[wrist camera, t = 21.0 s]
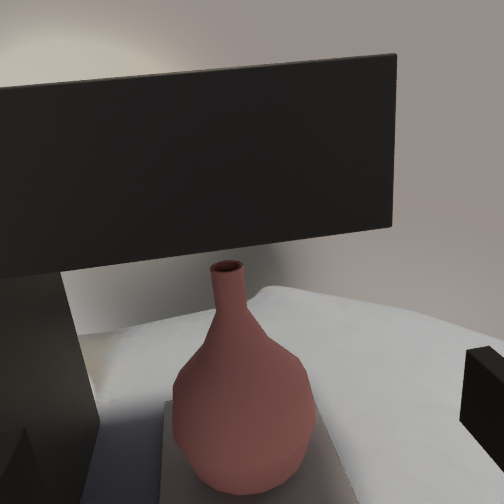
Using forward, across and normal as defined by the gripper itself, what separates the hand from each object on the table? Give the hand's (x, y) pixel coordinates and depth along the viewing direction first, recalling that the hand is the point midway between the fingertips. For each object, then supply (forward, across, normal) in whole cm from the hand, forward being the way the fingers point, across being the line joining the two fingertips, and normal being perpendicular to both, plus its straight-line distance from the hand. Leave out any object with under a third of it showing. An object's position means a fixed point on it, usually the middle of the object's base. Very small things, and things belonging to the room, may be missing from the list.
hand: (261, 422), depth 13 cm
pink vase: (+8, 0, -10) cm, 13 cm away
